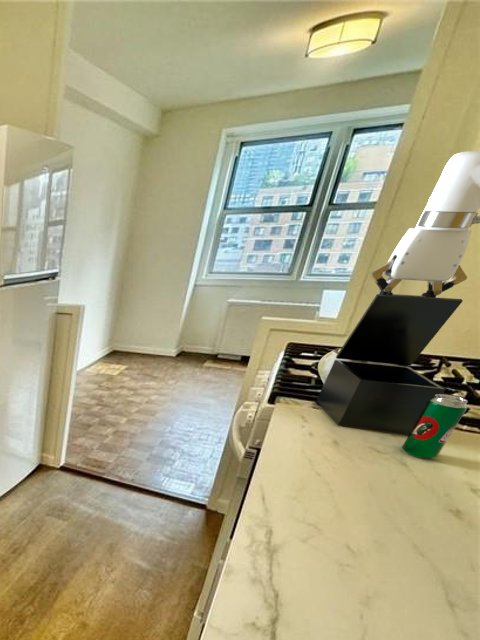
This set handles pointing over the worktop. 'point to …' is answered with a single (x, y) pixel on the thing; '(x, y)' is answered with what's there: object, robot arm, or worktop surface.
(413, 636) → the worktop surface
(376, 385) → the bin
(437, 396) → the soda can
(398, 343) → the bin lid
